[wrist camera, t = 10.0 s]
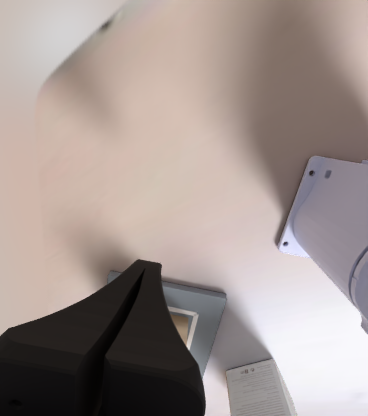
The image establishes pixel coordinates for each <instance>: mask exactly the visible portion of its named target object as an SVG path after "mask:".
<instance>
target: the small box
mask: <svg viewBox="0 0 368 416" xmlns="http://www.w3.org/2000/svg"><path fill="white" fill-rule="evenodd" d="M226 378H227V387H228V396H229V404H230V413H231V416H298V415H297V412H296V409H295V406H294V403H293V400H292V398H291V396H290V393H289V391H288V389H287V387H286V384H285V382H284V380H283V378H282V376H281V373H280V371H279V369H278V367H277V365H276V363H275V361H274V359H270V360H265V361H262V362H257V363H253V364H250V365H246V366H242V367H238V368H234V369H231V370H227V371H226Z"/></svg>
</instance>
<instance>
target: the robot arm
mask: <svg viewBox="0 0 368 416" xmlns="http://www.w3.org/2000/svg"><path fill="white" fill-rule="evenodd" d="M311 170H313V174H312V175H309V172H310V171H311ZM284 242H287V243H286V244H284V245H283V243H284ZM278 250H279V251H280V252H282V253H286V254H291V255H296V256H301V257H307V258H311V259H312V260H313V261H314V262H315V263H316V264H317V265H318V266H319V267H320V269H321V270H322V271H323V272H324V273H325V274H326V275H327V276H328V277H329V279H330V280H331V281H332V282H333V283H334V284H335V285H336V286H337V287H338V288H339V290H340V291H341V292H342V293H343V294H344V295H345V296H346V297H347V298H348V300H349V301H350V302H351V303H352V304H353V305H354V306H355V307H356V308H357V309H358V311H359V312H360V314H361V317H362V323H361V327H362V328H363V329H364V330H365V332H366V333H367V334H368V160H362V162H361V164H360V163H355V162H349V161H343V160H338V159H332V158H326V157H321V156H312V157H311V158H310V159H309V161H308V164H307V167H306V169H305V172H304V175H303V178H302V180H301V183H300V186H299V189H298V192H297V194H296V197H295V200H294V203H293V205H292V208H291V211H290V214H289V216H288V219H287V222H286V225H285V227H284V230H283V233H282V236H281V238H280V241H279V244H278ZM161 268H162V265H161V264H160V263H156V262H151V261H145V260H140V259H138V260H136V261H135V262H134V263H133V264H132V265H131V266H130V267H129V268H128V269H126V270H125V271H124V272H123V273H122V274H120V275H119V276H118V277H117V278H115V279H114V280H113V281H111V282H110V283H109V284H107V285H106V286H104V287H103V288H101V289H100V290H98V291H97V292H95V293H94V294H92V295H90V296H89V297H87V298H85V299H83V300H81V301H79V302H77V303H75V304H73V305H71V306H69V307H67V308H65V309H62V310H60V311H58V312H55V313H53V314H50V315H48V316H45V317H42V318H40V319H37V320H34V321H30V322H27V323H24V324H21V325H18V326H15V327H11V328H9V329H7V330H6V331H5V332H4V333H3V334H2V335H1V336H0V416H204V415H205V408H206V401H205V392H204V386H203V381H202V377H201V372H200V369H199V365H198V363H197V361H196V360H195V358H194V357H193V356H192V354H191V353H190V351H189V350H188V348H187V346H186V345H185V343H184V341H183V340H182V338H181V336H180V334H179V332H178V330H177V328H176V326H175V324H174V322H173V320H172V317H171V315H170V312H169V309H168V306H167V303H166V300H165V296H164V292H163V287H162V280H161Z"/></svg>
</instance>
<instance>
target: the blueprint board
mask: <svg viewBox="0 0 368 416" xmlns="http://www.w3.org/2000/svg"><path fill="white" fill-rule="evenodd" d="M120 274H122V273H119V272H114V271H111V272H110V273H109V275H108V282H107V284H109V283H110V282H111V281H113V280H114V279H115V278H117V277H118V276H119V275H120ZM162 287H163V292H164V296H165V300H166V303H167V306H168V309H169V312H170V314H172V315H177V316H182V317H187V318H188V334H187V348H188V350H189V351H190V353H191V354H192V356H193V357H194V358H195V360H196V361H197V363H198V365H199V369H200V372H201V377H202V378H203V375H204V372H205V369H206V365H207V362H208V359H209V356H210V352H211V349H212V346H213V342H214V339H215V336H216V333H217V329H218V326H219V323H220V319H221V316H222V313H223V310H224V306H225V303H226V300H227V298H226V294H224V293H219V292H214V291H209V290H204V289H199V288H194V287H189V286H184V285H179V284H174V283H169V282H164V281H162Z"/></svg>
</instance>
